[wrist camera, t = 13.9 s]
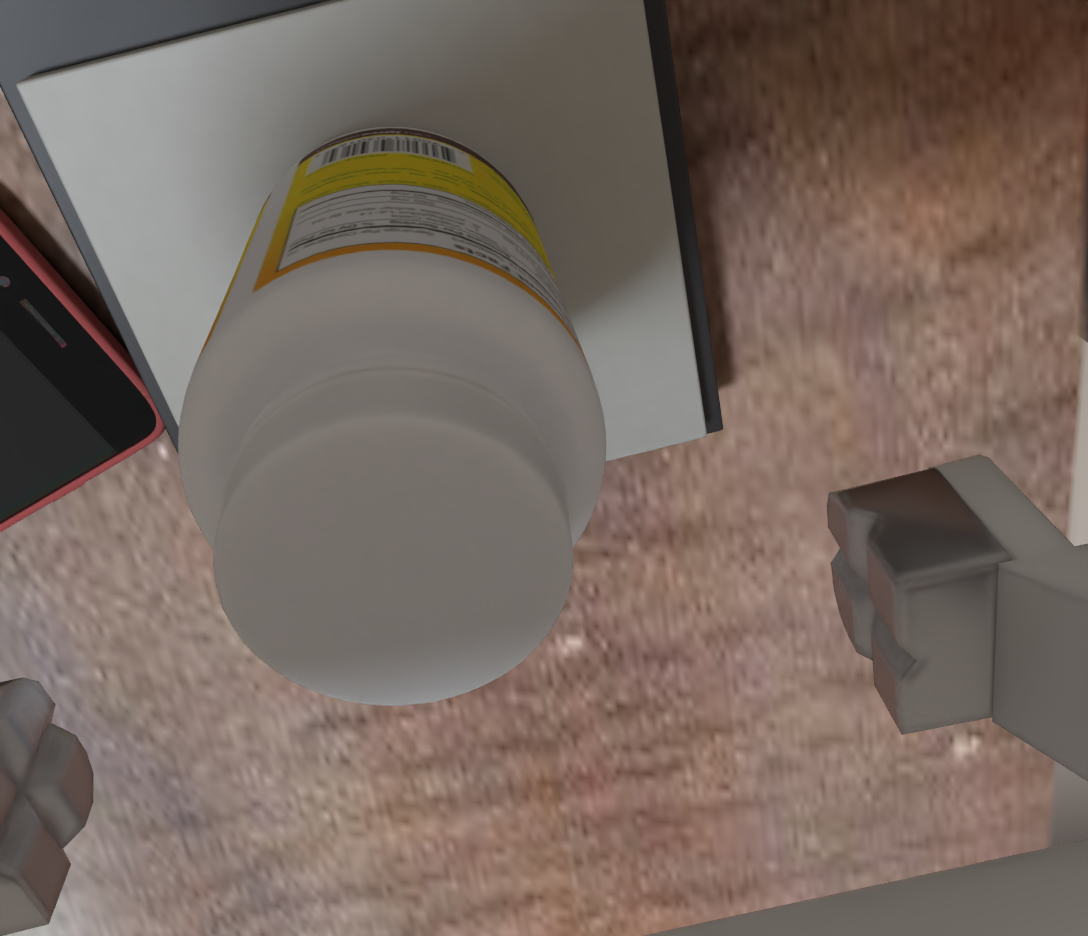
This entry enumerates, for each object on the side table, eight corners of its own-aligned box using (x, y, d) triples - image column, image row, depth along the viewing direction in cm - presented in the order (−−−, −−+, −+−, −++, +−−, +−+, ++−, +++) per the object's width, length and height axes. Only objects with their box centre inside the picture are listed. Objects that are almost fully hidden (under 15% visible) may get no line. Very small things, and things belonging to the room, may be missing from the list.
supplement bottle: (389, 438, 22) (375, 824, 13) (192, 244, 19) (7, 565, 10) (596, 281, 20) (737, 592, 12) (416, 50, 18) (423, 227, 9)
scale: (621, -174, 18) (647, -180, 16) (704, 395, 25) (731, 443, 23) (-8, -15, 18) (-59, 0, 16) (236, 511, 25) (221, 568, 23)
